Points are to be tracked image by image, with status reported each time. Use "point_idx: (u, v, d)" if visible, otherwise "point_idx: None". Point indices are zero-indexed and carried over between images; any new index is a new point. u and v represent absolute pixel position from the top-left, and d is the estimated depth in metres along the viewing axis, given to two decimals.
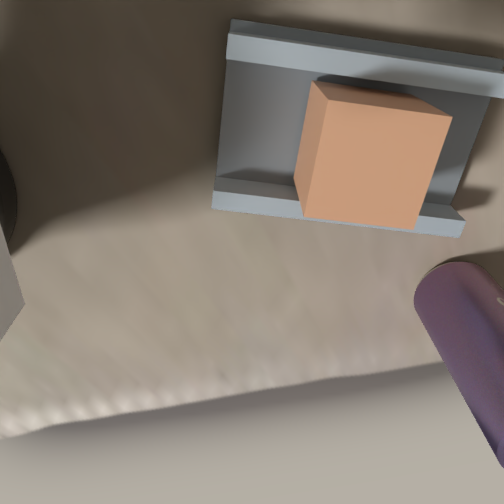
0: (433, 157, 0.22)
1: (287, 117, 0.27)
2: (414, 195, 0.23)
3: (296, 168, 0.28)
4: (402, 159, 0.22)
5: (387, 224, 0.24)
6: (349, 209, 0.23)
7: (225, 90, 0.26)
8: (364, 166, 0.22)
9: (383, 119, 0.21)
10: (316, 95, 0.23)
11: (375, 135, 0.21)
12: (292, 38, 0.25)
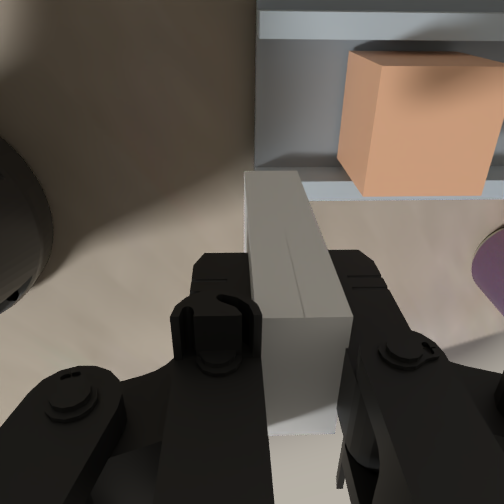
0: (499, 114, 0.20)
1: (324, 95, 0.25)
2: (481, 157, 0.21)
3: (340, 147, 0.26)
4: (465, 120, 0.20)
5: (452, 193, 0.22)
6: (411, 182, 0.22)
7: (257, 74, 0.25)
8: (425, 134, 0.20)
9: (443, 79, 0.19)
10: (360, 65, 0.22)
11: (435, 98, 0.20)
12: (324, 8, 0.23)
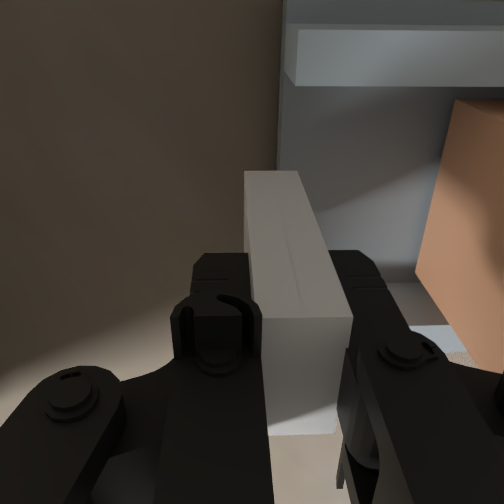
0: None
1: (401, 172, 0.14)
2: None
3: (424, 260, 0.15)
4: None
5: None
6: None
7: (283, 139, 0.14)
8: None
9: None
10: (498, 137, 0.11)
11: None
12: (414, 21, 0.12)
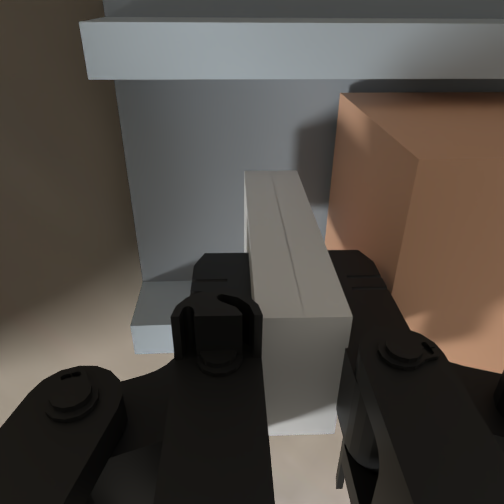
0: None
1: (252, 167, 0.14)
2: None
3: None
4: None
5: None
6: None
7: (124, 134, 0.13)
8: None
9: None
10: (362, 130, 0.11)
11: None
12: (236, 13, 0.12)
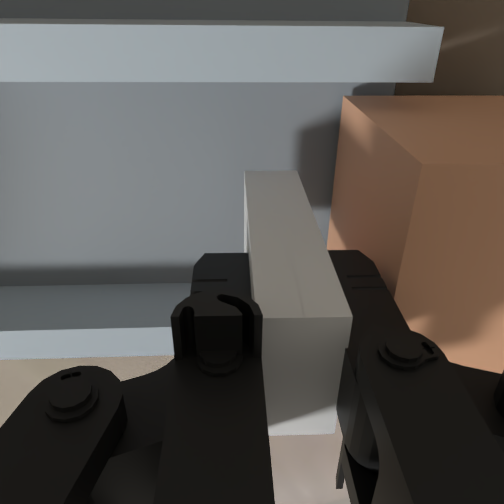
0: None
1: (4, 172, 0.14)
2: None
3: None
4: None
5: None
6: None
7: None
8: None
9: None
10: (365, 133, 0.11)
11: None
12: None
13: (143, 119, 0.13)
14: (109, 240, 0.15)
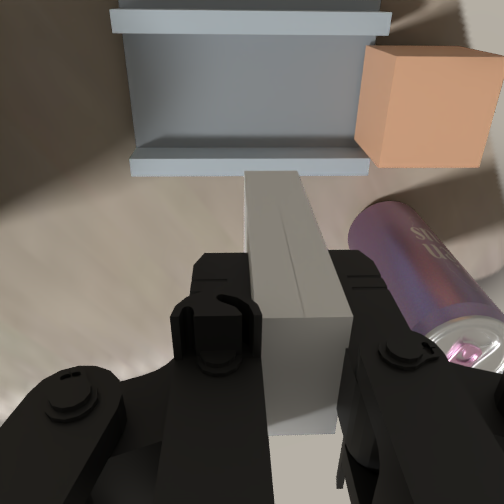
0: (494, 97, 0.24)
1: (189, 83, 0.29)
2: (478, 134, 0.25)
3: (357, 129, 0.30)
4: (465, 102, 0.24)
5: (454, 165, 0.26)
6: (419, 155, 0.26)
7: (127, 64, 0.28)
8: (431, 114, 0.24)
9: (447, 68, 0.23)
10: (376, 57, 0.26)
11: (440, 83, 0.24)
12: (177, 7, 0.27)
13: (257, 56, 0.28)
14: (233, 121, 0.30)
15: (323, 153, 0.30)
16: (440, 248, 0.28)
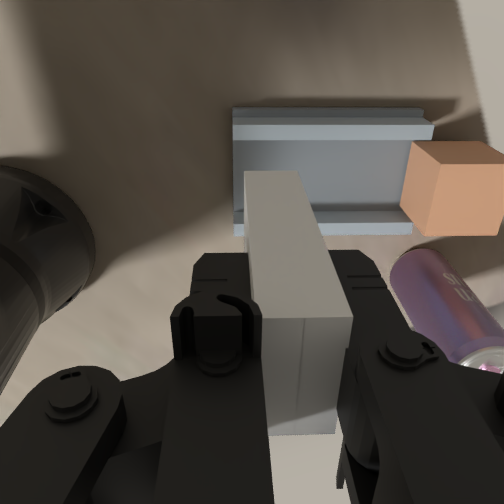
0: None
1: (278, 166, 0.39)
2: (497, 213, 0.35)
3: (402, 199, 0.40)
4: (488, 193, 0.34)
5: (479, 234, 0.36)
6: (454, 227, 0.35)
7: (233, 154, 0.38)
8: (464, 200, 0.34)
9: (476, 171, 0.33)
10: (422, 155, 0.36)
11: (470, 181, 0.33)
12: (275, 116, 0.37)
13: (331, 148, 0.38)
14: (308, 193, 0.40)
15: (377, 217, 0.40)
16: (467, 291, 0.38)
